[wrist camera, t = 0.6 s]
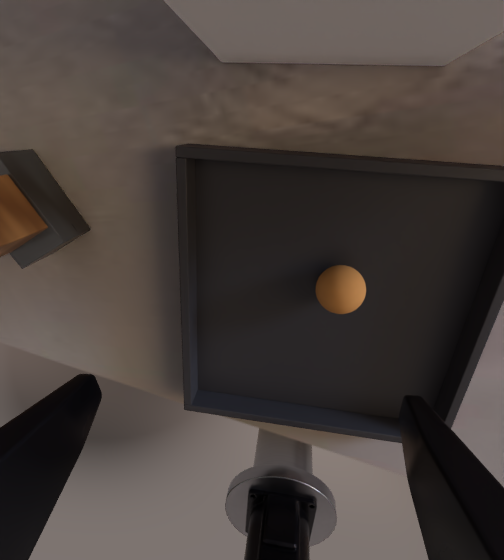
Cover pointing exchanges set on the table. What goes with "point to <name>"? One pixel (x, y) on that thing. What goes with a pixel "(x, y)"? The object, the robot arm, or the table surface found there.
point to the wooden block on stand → (33, 210)
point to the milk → (342, 30)
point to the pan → (313, 262)
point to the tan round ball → (340, 289)
